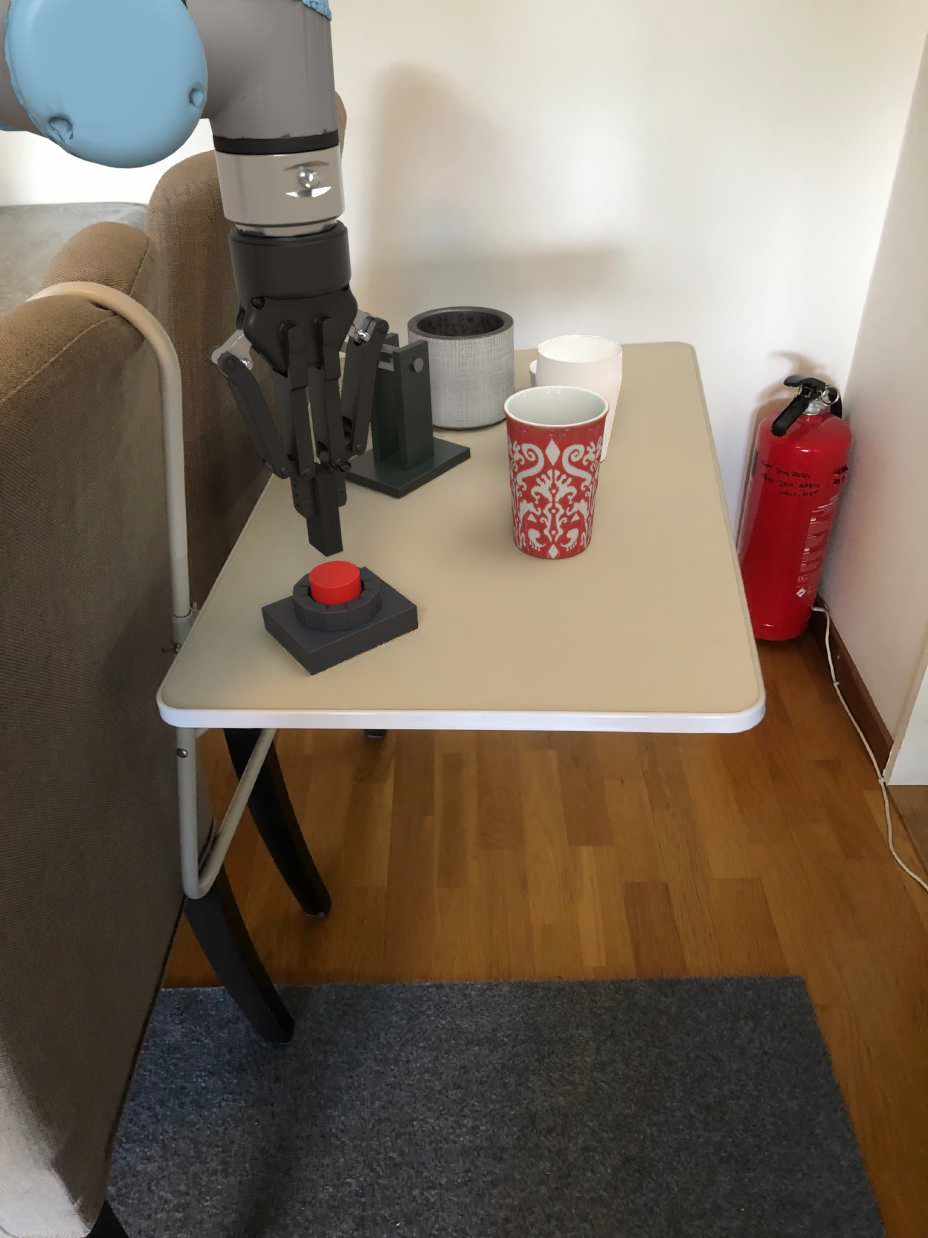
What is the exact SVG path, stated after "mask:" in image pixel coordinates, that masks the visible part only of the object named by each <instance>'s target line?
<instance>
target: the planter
mask: <svg viewBox="0 0 928 1238" xmlns="http://www.w3.org/2000/svg"><path fill="white" fill-rule="evenodd" d="M406 328H407V329H406V330H407V343H408V344H410V343H413V342H415V341H417V340H420V339H423V340H427V341H428V351H429V369H430V387H431V405H432V423H433V428H434V427H435V428H437V429H444V430H453V431H454V430H455V431H466V430H468V431H469V430H477V429H481V428H482V429H483V428H486V427H491V426H494V425H496V424H498V423H499V422H502V421H503V420H504V419H505V420H506V415H505V413H504V408H503V406H504V403H505V401H506V400H507V399H508V398H509V397H510V396H511V395H513V394H515V393H516V391H515V390H516V387H515V385H516V384H515V383H516V382H515V321H514V318H513V317H512V316H511V315H510V314H509V313H507V312H505V311H502V310H500V309H497V308H491V307H486V306H478V305H477V306H475V305H474V306H473V305H458V306H447V307H446V306H445V307H439V308H434V309H430V310H426V311H423V312H420V313H418V314H416V315H414V316H413V317H411V318H410V319H409V320H408V322H407V323H406ZM408 344H407V345H408Z"/></svg>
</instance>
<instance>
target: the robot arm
mask: <svg viewBox="0 0 928 1238" xmlns="http://www.w3.org/2000/svg"><path fill="white" fill-rule="evenodd" d="M329 3H330V2H329V0H0V131H3V132H28V133H30V134H33V135H36V136H38V137H42V138H45V139H48V140H49V141H51V142H52V143H54V144H55V145H57V146H58V147H59V148H61V149H62V150H63V151H64V152H66V153H67V154H69V155H71V156H73V157H75V158H76V159H77V158H78V159H80V160H82V161H85V162H88V163H92V164H97V165H100V166H103V167H108V168H113V169H139V168H144V167H148V166H152V165H155V164H157V163H159V162H161V161H165V159H167V158H169V157H170V156H172V155H173V154H175V153H176V152H178V150H180V148H182V147H183V146H184V145H185V144H186V143H187V142H188V140H189V139H190V137H192V135H193V133H194V132H195V130H196V128H197V127H198V125H199V123H200V120H207V119H208V121H209V125H210V129H211V134H212V144H213V148H214V157H215V162H216V170H217V175H218V184H219V189H220V190H219V191H220V197H221V203H222V209H223V210H222V211H223V216H224V218H226V220H227V221H229V222H230V223H232V224H235V225H234V226H233V227H232V228H230V230H229V231H230V232H229V233H228V234H227V240H228V247H229V252H230V259H231V267H232V272H233V278H234V284H235V285H234V286H235V289H236V292H237V298H238V309H237V312H236V315H235V320H234V326H235V329H236V330H235V331H234V332H233V334H232V335H231V336H230V337H229V338H227V340H226V341H225V342H224V343H223V344H222V345H221V346H219V345H216V344H215V345H211V346H210V347H209V348H208V349H207V351H206V359H207V361H208V362H209V363H210V364H211V365H212V366H213V367H214V368H215V370H217V372H218V373H219V374H220V375H221V376H222V377H223V378H224V379H225V380H226V383H227V385H228V388H229V390H230V392H231V395H232V397H233V399H234V402H235V404H236V406H237V408H238V411H239V413H240V415H241V418H242V420H243V422H244V423H243V424H244V426H245V427H246V430H247V432H248V434H249V437H250V440H251V443H252V444H253V447H254V448H255V451H256V453H257V456H258V458H259V461H260V463H261V465H262V466H263V467H264V468H265V469H267V470H268V471H269V472H270V473H272V474H273V475H275V476H276V477H277V478H278V479H281V480H287V479H288V478H289V481H290V488H291V495H292V503H293V507H294V510H295V511H296V512H297V513H298V514H299V515H301V516H302V517H303V518H304V519H305V522H306V529H307V537H308V544H309V545H311V546H312V547H313V548H314V549H315V550H316V551H318V552H319V553H320V554H321V555H323V556H324V557H325V558H328V557H331V556H334V555H336V554H340V553H342V552H344V545H343V536H342V527H341V526H342V525H341V519H340V508H342V507H345V506H346V505H347V501H348V492H347V483H346V480H345V474H346V473H348V472H349V471H350V470H351V467H352V464H351V463H350V462H348V461H349V460H351V459H353V458H354V457H357V456H360V455H362V454H364V452H366V451H367V448H368V442H369V441H368V440H369V432H370V417H371V410H372V402H373V394H374V386H375V378H376V370H377V362H378V355H379V352H380V350H381V347H382V345H383V343H384V340H385V338H386V336H387V334H388V333H389V330H390V324H389V322H388V321H387V320H386V319H384V318H381V317H379V316H377V315H374V314H372V313H369V312H367V311H363V310H362V309H359V304H358V301H357V298H356V296H355V295H354V294H353V292H352V289H351V284H350V281H351V279H352V266H351V265H352V264H351V253H350V242H349V229H348V227H347V226H346V225H345V224H344V222H342V221H341V220H339V219H338V218H340V217H341V215H343V214H344V213H345V211H346V200H345V190H344V188H345V187H344V179H343V168H342V166H343V165H342V156H341V155H342V153H341V143H340V137H339V127H338V114H337V113H338V112H337V99H336V85H335V70H334V56H333V55H334V53H333V41H332V27H331V26H332V24H331V22H332V21H333V16H332V15H333V14H332V11H331V9H330V4H329ZM347 337H348V339H347ZM346 339H347V342H348V343H347V347H346V353H344V354H345V355H344V363H343V373H342V367H341V357H340V353H341V352H340V350H341V347H342V345H343V343H344V341H345V342H346ZM251 348H252V349H253V350H254V352H256V353H257V354H258V355H259V357H260V358H261V359H262V360H263V361H264V362H265V363H266V364H267V366H268V373H269V377H270V379H271V380H272V381H273V382H272V383H273V387H274V396H275V402H276V410H277V417H278V424H279V430H280V434H279V431H278V429H277V426H276V424H275V422H274V419H273V416H272V413H271V411H270V409H269V406H268V404H267V401H266V399H265V397H264V394H263V391H262V389H261V386H260V385H259V382H258V380H257V379H256V377H255V375H254V374H253V373H252V372H251V371H252V370H253V368H254V360H253V358H252V355H251ZM341 377H342V380H341V390H340V382H339V380H340V379H341ZM307 390H308V394H307ZM340 391H341V392H340ZM308 400H309V402H308ZM309 408H310V412H309ZM310 416H311V419H310ZM311 422H312V423H311ZM311 424H312V428H311ZM312 432H313V436H312ZM312 437H313V438H312ZM313 439H314V446H313ZM314 448H315V454H314ZM315 455H316V457H317V459H318V460H319V462H318V461H315Z"/></svg>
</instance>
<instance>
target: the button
mask: <svg viewBox="0 0 928 1238" xmlns="http://www.w3.org/2000/svg"><path fill="white" fill-rule="evenodd" d="M358 567H359V566H357V565H356V564H355V563H353V562H350V561H346V560H330V561H326V562H322V563H320V564H318V565H316V566H314V567H313V568H312V569H311V571H310V572H309V573H310V574H309V581H310V587H311V594H312V597H313V599H314V600H315V601H316V602H319V603H324V604H328V605H330V604H340V603H345V602H348V601H350V600H352V599H355V598H357V597H358V596H359V595H360V593H361V590H362V588H361V580H360V571H359V569H358Z"/></svg>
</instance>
